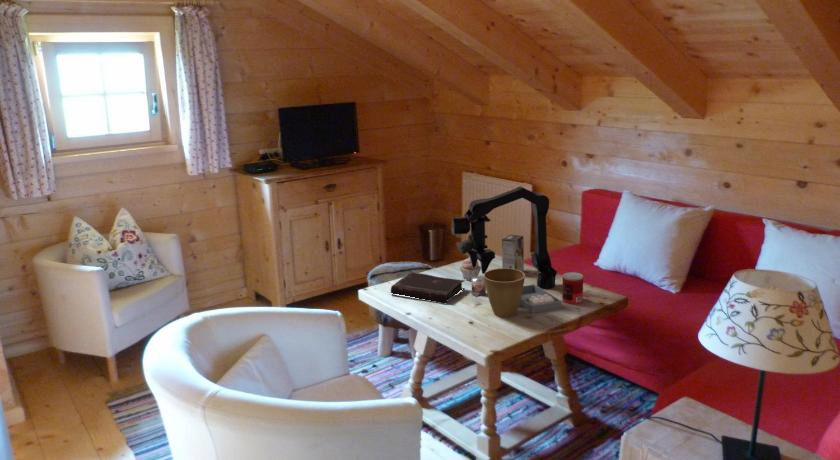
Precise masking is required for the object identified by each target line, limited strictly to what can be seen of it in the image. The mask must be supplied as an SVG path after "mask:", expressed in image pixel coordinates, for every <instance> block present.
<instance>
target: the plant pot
mask: <svg viewBox="0 0 840 460" xmlns="http://www.w3.org/2000/svg"><path fill="white" fill-rule="evenodd" d="M483 277H484V280H485V286H486V295H487V298H488V300H489V301H488V302H489V303H490V307H491V310H492V312H493V314H494V315H495V317H498V318H499V317H500V318H511V317H514V316H515V315H516V313H517V311H518V307H519V306H520V305H519V302H520V299H521V295H522V290H523V286H525V285H524V284H525V277H526V273H524V271H520V270H516V269H511V268H502V267H500V268H494V269H490V270H486V273H484V274H483Z"/></svg>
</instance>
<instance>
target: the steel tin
mask: <svg viewBox="0 0 840 460" xmlns="http://www.w3.org/2000/svg"><path fill="white" fill-rule="evenodd" d="M472 295H473V296H472ZM471 296H472V297H474V296H475V298H478V297H485V296H487V290H486V286H485V280H484V275H483V276H482V275H478V276H475V277H472V280H471Z"/></svg>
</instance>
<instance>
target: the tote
mask: <svg viewBox="0 0 840 460" xmlns="http://www.w3.org/2000/svg"><path fill="white" fill-rule="evenodd" d="M544 294H548V295H549V296H551V297H552V298H553V299H554V302H550V303H544V304H538V305H531V304H530V303H529V298H531V297H532V296H536V297H537V296H538V295H542V296H543V295H544ZM562 304H563V301H562V299H559V298H558V297H556V296H554V295H552V294H551V293H549V292H548V291H546V289H541V288H540V287H538V286H537V284H534V283H533V284H527V285H523V290H522V295H521V299H520V302H519V305H518V306H521V307H522V308H523V309H525V310H527V312H529V313H530V314H536V313H541V312H542V313H543V312H547V311H548V312H549V311H554V310H558V309H562V308H563V305H562Z"/></svg>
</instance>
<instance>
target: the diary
mask: <svg viewBox="0 0 840 460" xmlns="http://www.w3.org/2000/svg"><path fill="white" fill-rule="evenodd" d="M463 282H465V279H464V280H463V279H462V280H461V279H456V278H449V277H441V276H440V277H439V276H436V275H435V276H434V275H431V274H426V273H419V272H413V271H412V272H409V273H408V274H407V275H405V276H404V277H402V278H401V279H399V280H398V281H397V282H395V283H394V284H393V285H391V287H390V294H391V293H393V294H399V295H405V296H410V297H415V298H419V299H425V300H431V301H430V302H432V301H436V302H435V303H438V302H441V303H440V304H444V303H447V304H448V301H447V300H449V299H450V298H451V299H452V298H454V297H455V296H454V295H455V294H457V293H458V292H459V291H460V290H462V289H463V290H464V291H465V287H464V288H462V287H463V286H462V285H463ZM463 290H462V292H463ZM453 296H454V297H453ZM451 299H450V300H451ZM425 300H424V301H425ZM450 300H449V301H450Z"/></svg>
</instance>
